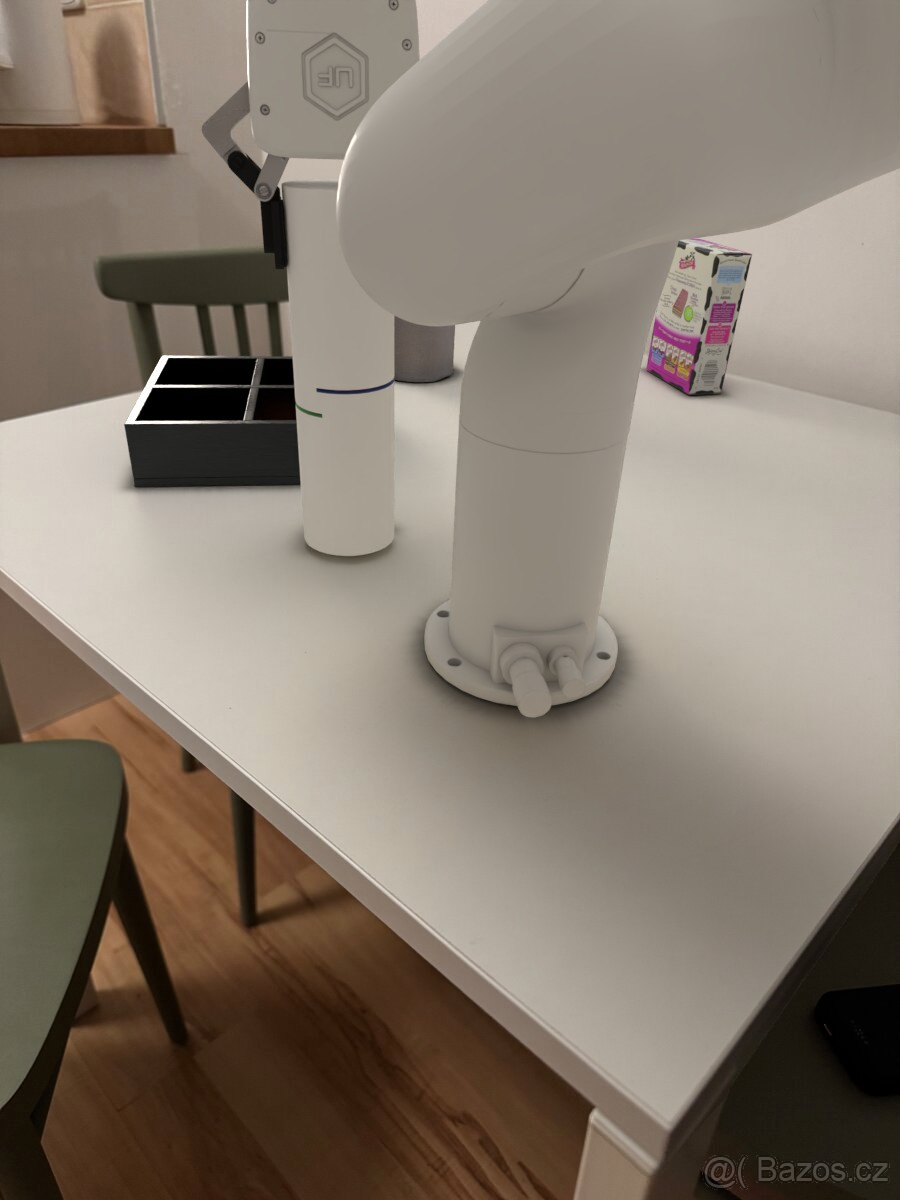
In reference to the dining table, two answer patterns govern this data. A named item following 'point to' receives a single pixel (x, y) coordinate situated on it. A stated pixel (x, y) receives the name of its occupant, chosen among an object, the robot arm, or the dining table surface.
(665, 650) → the dining table surface
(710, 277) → the candy bar box
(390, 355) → the cylindrical container
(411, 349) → the pillar candle
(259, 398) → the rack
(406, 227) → the robot arm
